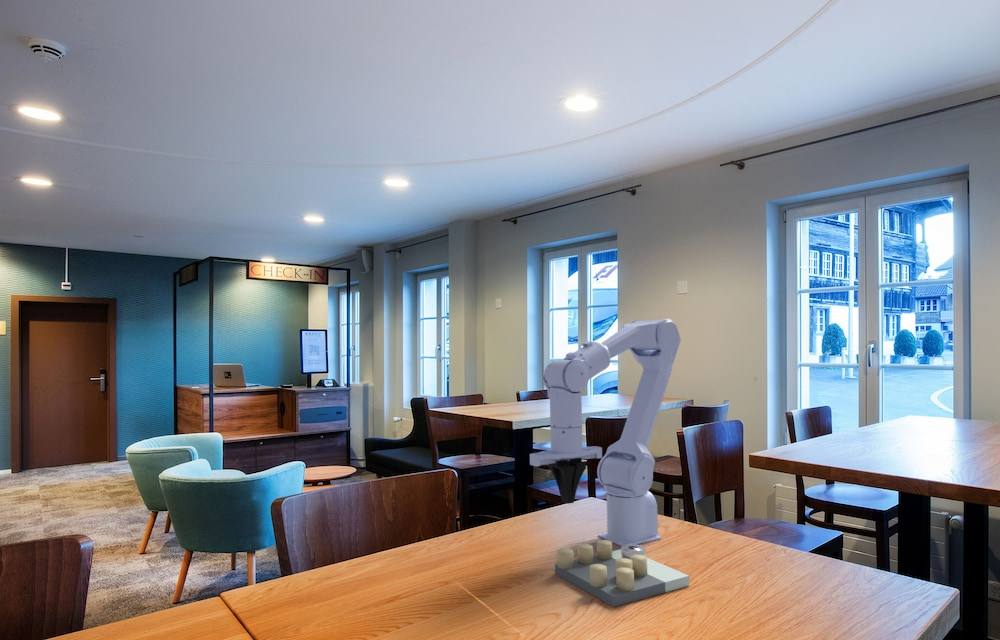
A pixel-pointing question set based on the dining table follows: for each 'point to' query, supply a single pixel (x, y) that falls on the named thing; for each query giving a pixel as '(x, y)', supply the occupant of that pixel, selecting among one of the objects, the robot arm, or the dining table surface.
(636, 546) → the steel nut
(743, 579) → the dining table surface
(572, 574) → the board
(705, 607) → the dining table surface
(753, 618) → the dining table surface
